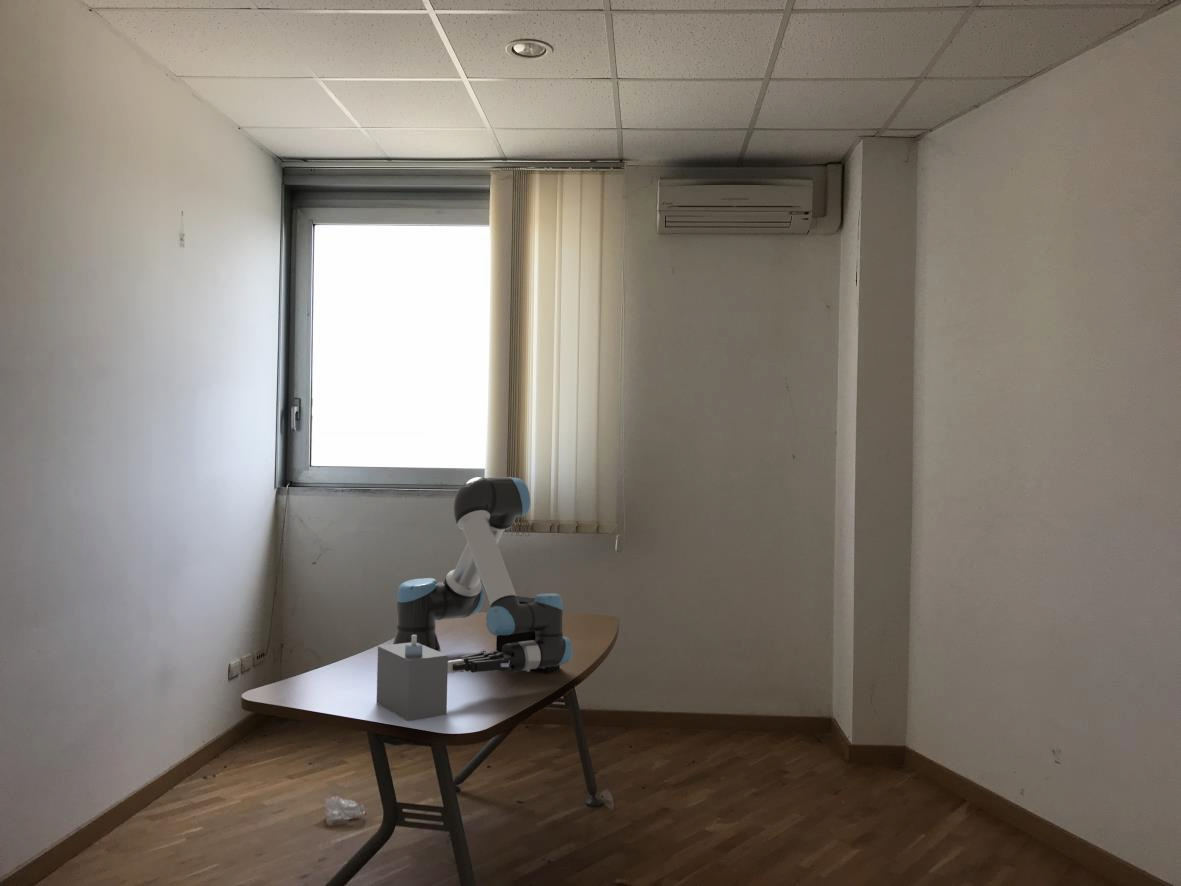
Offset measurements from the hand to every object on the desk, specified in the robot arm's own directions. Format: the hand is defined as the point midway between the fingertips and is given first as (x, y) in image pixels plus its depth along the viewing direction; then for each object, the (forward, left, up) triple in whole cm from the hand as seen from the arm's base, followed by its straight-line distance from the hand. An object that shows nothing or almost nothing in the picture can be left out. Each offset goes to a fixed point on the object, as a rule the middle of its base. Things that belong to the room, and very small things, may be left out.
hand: (439, 668), depth 216 cm
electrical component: (-20, +40, -9) cm, 46 cm away
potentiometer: (+5, -9, +5) cm, 12 cm away
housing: (0, -7, -9) cm, 12 cm away
